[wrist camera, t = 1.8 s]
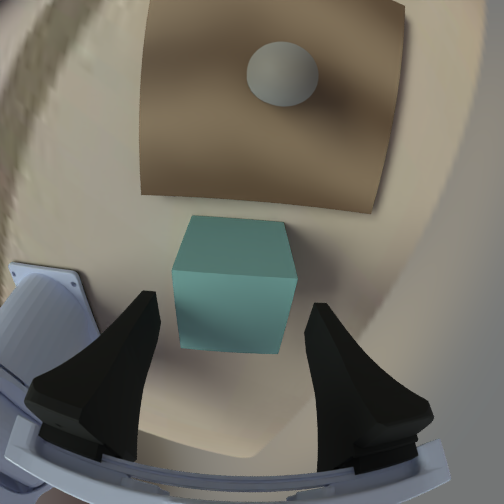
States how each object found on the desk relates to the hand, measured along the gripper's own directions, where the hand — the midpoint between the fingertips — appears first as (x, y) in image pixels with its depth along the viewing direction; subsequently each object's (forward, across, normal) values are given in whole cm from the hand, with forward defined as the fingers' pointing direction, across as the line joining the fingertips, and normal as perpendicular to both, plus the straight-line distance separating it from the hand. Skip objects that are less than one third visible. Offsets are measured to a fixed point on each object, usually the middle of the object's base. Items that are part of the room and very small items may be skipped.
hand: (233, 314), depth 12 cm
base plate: (+5, -1, -10) cm, 11 cm away
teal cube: (+5, 0, 0) cm, 5 cm away
